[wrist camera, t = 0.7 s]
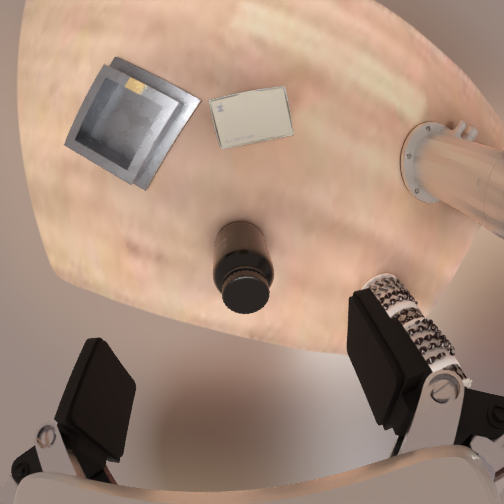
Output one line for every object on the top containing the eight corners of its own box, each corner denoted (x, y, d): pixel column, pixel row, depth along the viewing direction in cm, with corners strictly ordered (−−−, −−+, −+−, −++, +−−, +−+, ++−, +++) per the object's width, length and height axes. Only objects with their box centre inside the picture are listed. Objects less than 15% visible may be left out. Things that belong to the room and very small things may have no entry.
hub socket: (118, 57, 25) (99, 50, 20) (201, 100, 29) (195, 97, 24) (72, 144, 29) (50, 151, 25) (147, 188, 34) (134, 201, 29)
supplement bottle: (229, 272, 40) (229, 330, 30) (206, 233, 37) (197, 283, 26) (273, 253, 39) (288, 307, 29) (253, 211, 36) (262, 255, 26)
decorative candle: (347, 314, 46) (404, 438, 24) (365, 269, 42) (448, 395, 20) (389, 314, 47) (451, 421, 25) (408, 272, 43) (491, 378, 21)
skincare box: (222, 140, 32) (217, 153, 21) (214, 106, 30) (205, 99, 19) (273, 130, 31) (295, 137, 21) (266, 96, 29) (285, 85, 19)
